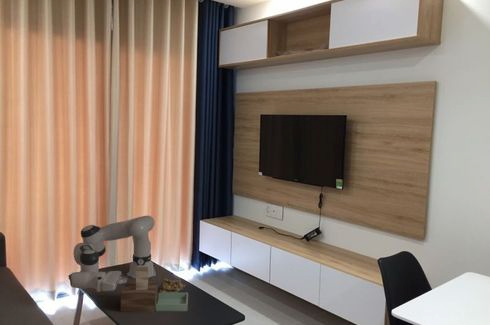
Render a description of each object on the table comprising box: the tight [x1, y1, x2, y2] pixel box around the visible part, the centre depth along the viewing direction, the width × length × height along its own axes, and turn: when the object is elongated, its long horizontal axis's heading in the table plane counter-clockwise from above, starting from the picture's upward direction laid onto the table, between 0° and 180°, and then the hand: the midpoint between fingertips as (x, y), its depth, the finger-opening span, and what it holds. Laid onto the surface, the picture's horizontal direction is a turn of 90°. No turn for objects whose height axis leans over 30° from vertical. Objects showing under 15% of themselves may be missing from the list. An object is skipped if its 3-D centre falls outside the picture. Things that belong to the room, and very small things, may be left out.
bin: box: [155, 292, 189, 313], centre depth 236 cm, size 16×17×4 cm
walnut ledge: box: [120, 282, 159, 313], centre depth 233 cm, size 16×18×10 cm
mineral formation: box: [158, 278, 186, 293], centre depth 252 cm, size 8×13×15 cm
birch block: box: [135, 266, 149, 290], centre depth 232 cm, size 5×6×12 cm
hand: (127, 280), depth 230 cm, fingers closed
